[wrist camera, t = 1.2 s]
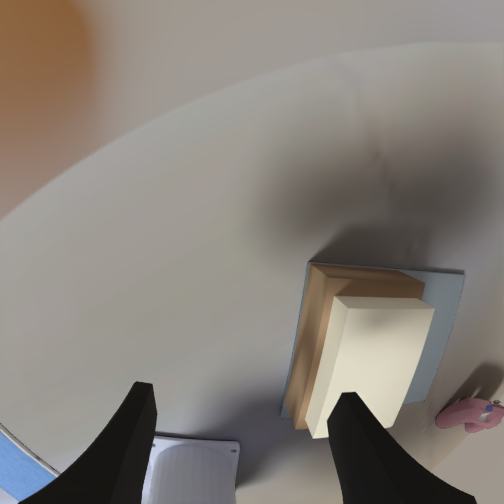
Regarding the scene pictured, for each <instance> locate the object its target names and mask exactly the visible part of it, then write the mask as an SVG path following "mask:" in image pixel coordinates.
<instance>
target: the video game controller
mask: <svg viewBox="0 0 504 504" xmlns="http://www.w3.org/2000/svg"><path fill="white" fill-rule="evenodd" d="M493 402H494V403H493V404H491V403H492V402H491V401H488V400H484V399H481V398H470V397H468V398H466V399H461V400H460V402H458V403H455V404H453V405H451V406H449V407H447V408H446V409H444V410H443V411H441V412H440V413H439V414H438V416H437V417H436V419H435V424H436V426H437V427H439V428H443V429H445V428H450V427H453V426H456V425H459V424H462V423H466V424H465V430H466V431H467V432H468V433H475V432H478V431H480V430H483V429H490V428H493V427H495V426H497V425H498V424H500V425H501V421H502V419H504V407H503V406H501V405H500V404H498V403H501V402H500V401H499V400H495V401H493Z"/></svg>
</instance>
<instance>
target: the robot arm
mask: <svg viewBox="0 0 504 504" xmlns="http://www.w3.org/2000/svg"><path fill="white" fill-rule="evenodd" d="M156 421H157V409H156V403H155V397H154V391H153V384H150V383H144V382H135V383H134V384H133V386H132V388H131V389H130V391H129V393H128V395H127V396H126V398H125V399H124V401H123V403H122V404H121V406H120V407H119V409H118V410H117V412H116V413H115V414H114V416H113V417H112V418H111V420H110V421H109V423H108V424H107V425H106V427H105V428H104V429H103V431H102V432H101V433H100V434H99V435H98V437H97V438H96V439H95V440H94V442H93V443H92V444H91V445H90V446H89V447H88V448H87V450H86V451H85V452H84V453H83V454H82V455H81V456H80V457H79V458H78V459H77V460H76V461H75V462H74V463H73V464H72V465H70V466H69V467H68V468H67V469H66V470H65V471H64V472H63V473H62V474H60V475H59V476H58V477H57V478H55V479H54V480H53V481H51V482H50V483H49V484H47V485H46V486H45V487H43V488H42V489H40V490H39V491H37V492H36V493H34V494H32V495H31V496H29V497H27V498H25V499H24V500H22V501H20V502H19V503H18V504H141V499H142V490H143V484H144V479H145V475H146V470H147V466H148V462H149V459H150V465H151V470H152V480H151V487H150V494H149V501H148V504H236V496H235V487H234V486H235V479H236V473H237V466H238V459H239V452H240V444H239V443H238V442H236V441H210V440H194V439H182V438H171V437H163V436H155V429H156ZM327 428H328V436H329V443H330V447H331V451H332V455H333V459H334V462H335V466H336V470H337V474H338V477H339V481H340V485H341V490H342V496H343V504H477V502H476V500H475V498H474V496H472V495H469V494H467V493H465V492H463V491H461V490H459V489H457V488H455V487H453V486H451V485H449V484H447V483H446V482H444V481H443V480H441V479H439V478H438V477H437V476H435V475H434V474H432V473H431V472H429V471H428V470H427V469H425V468H424V467H423V466H422V465H420V464H419V463H418V462H417V461H416V460H415V459H413V458H412V457H411V456H410V455H409V454H408V453H407V452H406V451H405V450H404V449H403V448H402V447H401V446H400V445H399V444H398V443H397V442H396V441H395V440H394V438H393V437H392V436H391V435H390V434H389V433H388V432H387V430H386V429H385V428H384V427H383V426H382V424H381V423H380V422H379V421H378V420H377V418H376V417H375V416H374V414H373V413H372V412H371V411H370V409H369V408H368V407H367V405H366V404H365V403H364V402H363V400H362V399H361V398H360V396H359V395H358V394H357V393H356V392H342V393H341V395H340V397H339V399H338V401H337V403H336V405H335V407H334V408H333V410H332V412H331V414H330V416H329V417H328V419H327ZM233 449H235V450H233Z"/></svg>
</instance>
